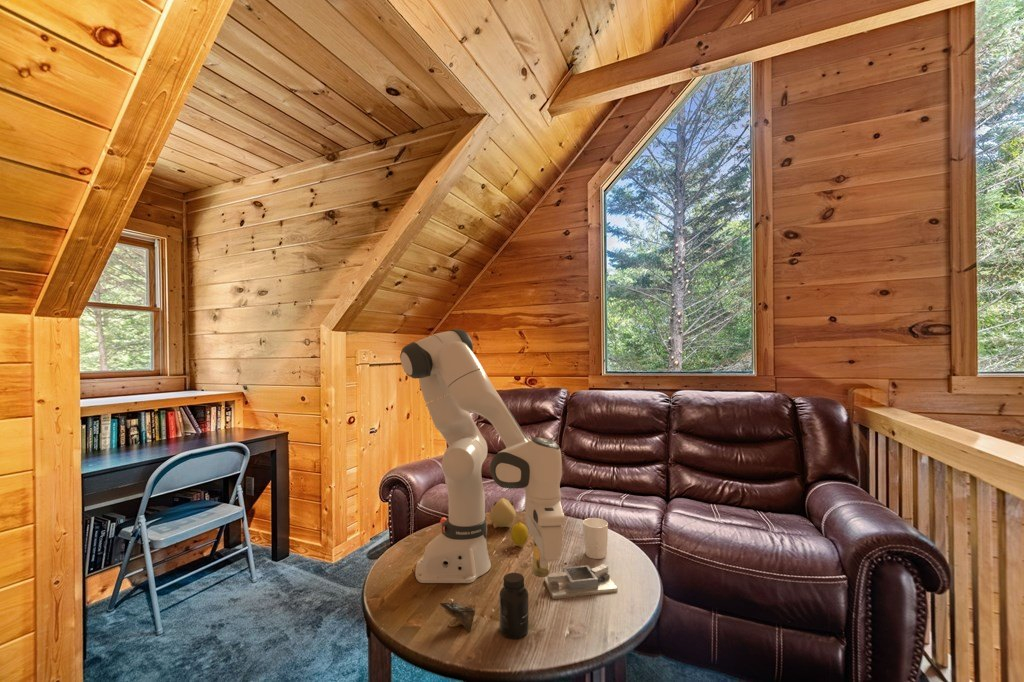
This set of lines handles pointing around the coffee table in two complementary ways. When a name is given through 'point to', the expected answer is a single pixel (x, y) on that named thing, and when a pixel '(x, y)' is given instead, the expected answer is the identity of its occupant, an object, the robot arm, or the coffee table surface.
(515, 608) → the supplement bottle
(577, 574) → the shaft rig
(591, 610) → the coffee table surface
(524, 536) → the lemon
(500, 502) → the pale yellow wedge piece
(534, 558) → the cylinder
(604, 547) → the white cup
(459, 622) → the shark head
